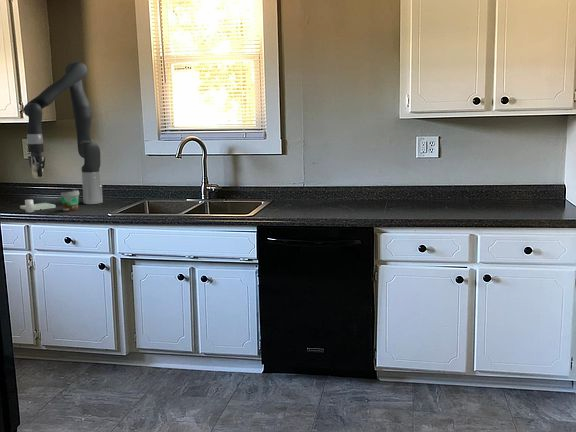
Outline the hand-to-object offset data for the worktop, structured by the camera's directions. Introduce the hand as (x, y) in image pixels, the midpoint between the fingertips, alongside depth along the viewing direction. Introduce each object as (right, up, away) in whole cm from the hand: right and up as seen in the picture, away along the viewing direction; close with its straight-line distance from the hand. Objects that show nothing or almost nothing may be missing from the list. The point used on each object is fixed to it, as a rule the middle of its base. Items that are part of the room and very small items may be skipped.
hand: (37, 176), depth 341 cm
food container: (+19, -18, -2) cm, 26 cm away
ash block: (0, -1, 0) cm, 1 cm away
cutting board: (-2, -16, +6) cm, 17 cm away
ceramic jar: (-2, -18, -5) cm, 19 cm away
